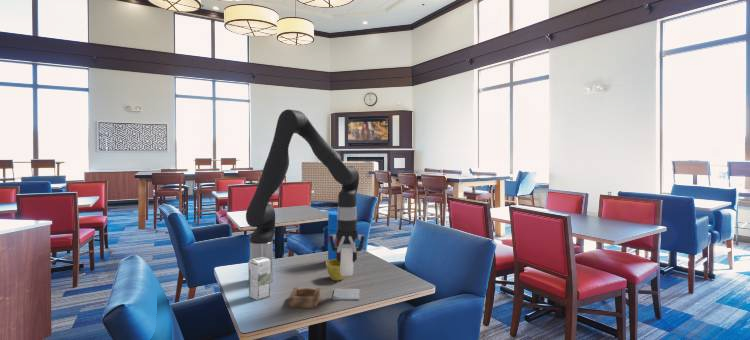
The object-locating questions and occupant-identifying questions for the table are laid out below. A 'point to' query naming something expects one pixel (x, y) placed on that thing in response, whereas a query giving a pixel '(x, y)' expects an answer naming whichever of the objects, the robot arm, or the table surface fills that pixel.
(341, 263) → the white lidded jar
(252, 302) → the table surface
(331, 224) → the thermos
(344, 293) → the coaster
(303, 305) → the wooden tray
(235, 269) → the table surface
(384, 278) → the table surface
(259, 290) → the syrup box
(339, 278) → the flower pot
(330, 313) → the table surface
